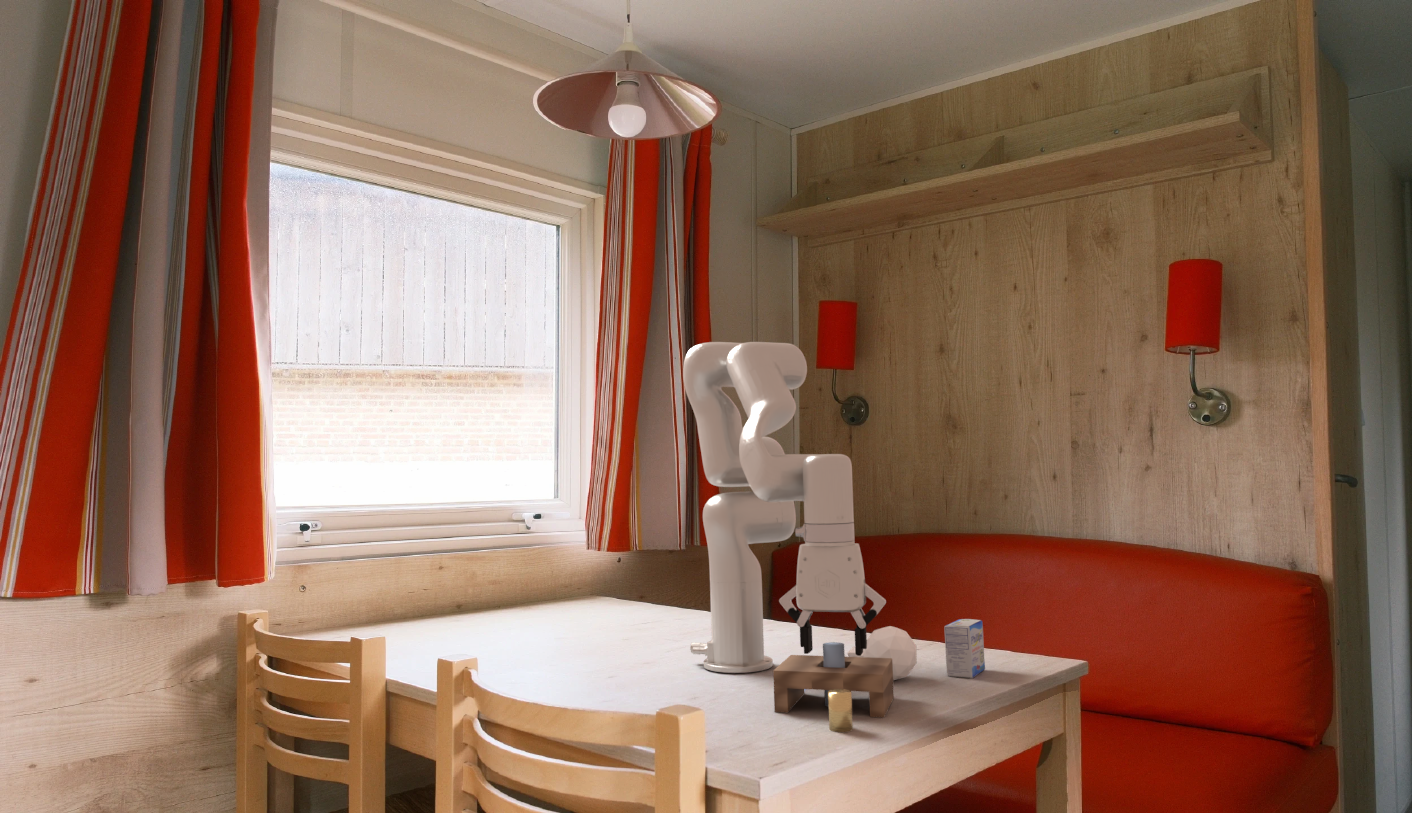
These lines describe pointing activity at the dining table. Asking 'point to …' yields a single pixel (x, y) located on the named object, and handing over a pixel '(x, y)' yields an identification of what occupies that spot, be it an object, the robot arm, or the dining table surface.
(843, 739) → the dining table surface
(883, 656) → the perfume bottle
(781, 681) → the hole board
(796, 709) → the dining table surface
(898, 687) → the dining table surface
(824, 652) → the long pin
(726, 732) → the dining table surface
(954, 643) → the medicine box
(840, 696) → the short pin
